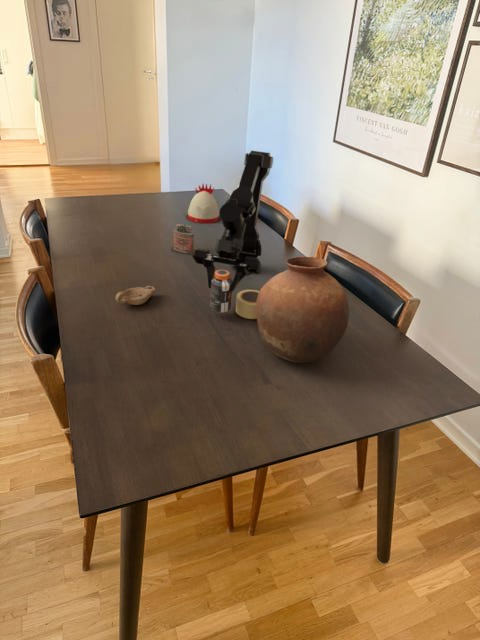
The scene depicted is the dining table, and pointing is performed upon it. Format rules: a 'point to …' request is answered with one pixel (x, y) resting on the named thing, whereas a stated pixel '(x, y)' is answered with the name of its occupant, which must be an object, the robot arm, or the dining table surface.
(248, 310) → the tape roll
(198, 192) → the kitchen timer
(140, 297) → the oil lamp
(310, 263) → the pottery
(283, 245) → the dining table surface
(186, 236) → the red upright container
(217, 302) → the pill bottle
